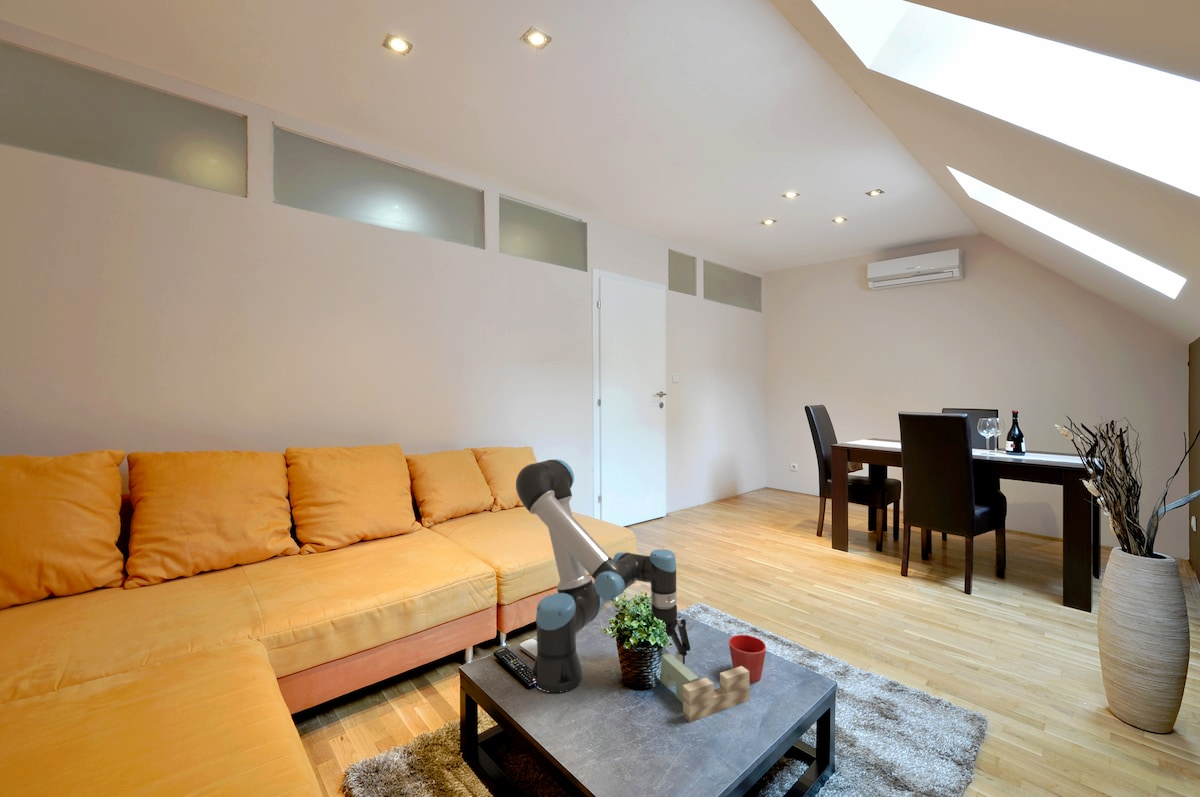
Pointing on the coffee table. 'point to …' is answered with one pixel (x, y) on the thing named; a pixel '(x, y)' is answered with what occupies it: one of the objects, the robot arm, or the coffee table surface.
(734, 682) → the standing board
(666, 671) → the cross piece
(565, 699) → the coffee table surface
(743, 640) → the flower pot
